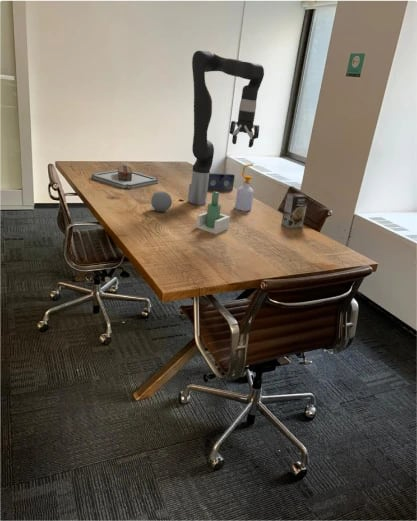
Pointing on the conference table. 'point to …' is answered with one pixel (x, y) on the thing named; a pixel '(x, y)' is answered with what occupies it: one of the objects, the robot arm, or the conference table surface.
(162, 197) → the decorative stone
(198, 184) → the robot arm
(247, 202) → the soap bottle
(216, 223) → the u rest
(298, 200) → the coffee box
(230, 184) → the vhs cassette tape
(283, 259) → the conference table surface
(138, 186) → the grey square tray
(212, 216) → the green bottle
